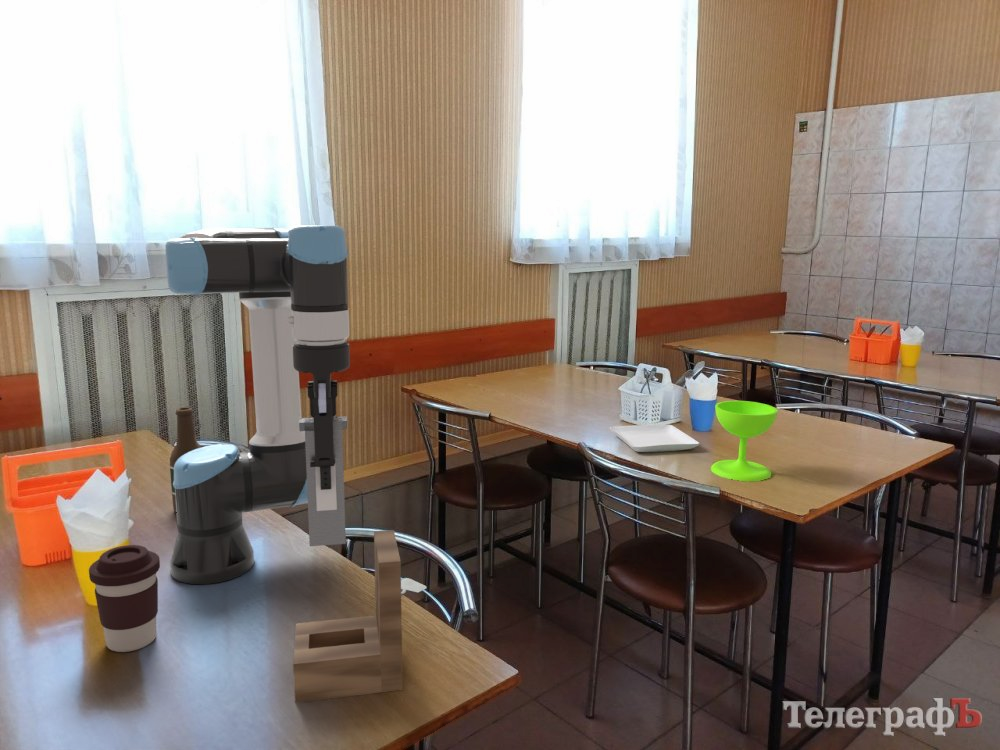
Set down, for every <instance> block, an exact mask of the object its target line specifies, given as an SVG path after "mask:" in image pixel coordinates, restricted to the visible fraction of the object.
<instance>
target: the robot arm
mask: <svg viewBox="0 0 1000 750" xmlns="http://www.w3.org/2000/svg"><path fill="white" fill-rule="evenodd" d="M346 240H347V238H346V231H345V229H344V228H343V227H341V226H340V225H322V224H321V225H319V224H318V225H316V224H315V225H314V224H313V225H311V224H309V225H306V224H305V225H304V224H301V225H297V224H296V225H295V224H294V225H292V226H291V227H289V228H279V227H238V228H237V227H233V228H231V227H230V228H229V227H227V228H226V227H213V228H205V229H201V230H200V229H199V230H196V231H193V232H188V233H186V234H183V235H181V236H180V237H177V238H171V239H169V240H168V241H167V242H166V243H165V262H166V263H165V264H166V276H167V286H168V289H169V290H170V292H171V293H172V294H179V295H181V294H182V295H183V294H185V295H192V296H193V295H194V296H196V295H207V294H231V293H232V294H234V293H238V296H239V300H238V301H240V302H241V303H242V304H243V305H244V306H245V307H246V308H247V310H248V321H249V335H250V349H251V350H250V352H251V364H252V366H251V367H252V380H253V395H254V410H255V412H254V413H255V424H256V425H255V426H256V432H255V434H254V435H253V436H252V437H251V438H250V440H249V441H248V445H249V446H248V447H249V450H247V451H240V450H239V448H238V447H237V445H235V444H231V443H225V444H223V443H218V444H217V443H215V444H210V445H205V446H201V448H198V449H195V450H192V451H190V452H188V453H186V454H184V455H182V456H181V457H180V458H179V459H178V460H177V461H176V463H175V465H174V481H173V487H174V488H175V496H176V512H177V513H176V512H175V513H176V524H177V525H176V526H177V536H176V538H175V543H174V547H173V549H172V550H173V551H172V553H171V558H170V561H169V562H170V563H169V566H170V567H169V568H170V574H171V576H172V578H173V579H175V581H178V582H181V583H184V584H190V585H209V584H217V583H222V582H225V581H229V580H233V579H235V578H237V577H239V576H242V575H244V574H245V573H247V572H248V571H249V570H250V569H252V567H253V566H254V564H255V554H254V553H255V552H254V548H253V546H252V544H251V541H250V539H249V537H248V535H247V532H246V530H245V527H244V523H243V513H248V512H257V511H265V510H273V509H279V508H285V507H289V508H294V507H295V506H299V505H305V504H308V496H307V471H306V447H305V431H300V430H299V421H300V418H302V408H301V407H302V405H301V392H300V391H301V388H300V374H299V373H302V374H309V373H310V374H312V375H313V376H312V377H313V379H312V381H311V380H309V381H307V397H308V399H309V410H310V413H309V414H310V418H314V441H315V460H314V462H310V467H315V476H316V501H317V511H324V510H337V500H336V470H335V459H334V444H333V417H336V415H337V397H338V380H332V373H340V372H344V371H346V370H348V369H349V368H350V366H351V359H350V358H351V357H350V356H351V355H350V353H351V351H350V343H349V342H348V341H347V339H348V338H349V337H350V311H349V310H350V308H349V304H348V303H349V300H348V299H349V297H348V296H349V294H348V292H349V290H348V255H349V251H348V250H349V249H348V247H347V241H346Z"/></svg>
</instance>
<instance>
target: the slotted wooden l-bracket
mask: <svg viewBox="0 0 1000 750" xmlns="http://www.w3.org/2000/svg"><path fill="white" fill-rule="evenodd" d="M373 543H374V544H373V546H374V549H373V550H374V595H375V601H374V602H375V603H374V605H375V615H367V616H359V617H358V616H356V617H349V618H348V617H346V618H337V619H328V620H317V621H307V622H299V623H295V633H294V634H295V637H294V648H293V649H294V650H293V664H292V665H293V685H294V686H293V689H294V703H295V704H297V703H303V702H304V703H305V702H312V701H320V700H328V699H336V698H345V697H353V696H363V695H371V694H377V693H385V692H394V691H401V690H403V643H402V640H403V638H402V636H403V633H402V628H403V626H402V595H401V592H402V590H401V580H402V577H401V576H402V571H401V570H402V566H401V565H402V564H401V563H402V561H401V557H400V553H399V548H398V543H397V538H396V535H395V529H390V530H388V529H387V530H376V531H373Z"/></svg>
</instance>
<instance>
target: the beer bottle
mask: <svg viewBox="0 0 1000 750" xmlns="http://www.w3.org/2000/svg"><path fill="white" fill-rule="evenodd" d="M193 413H194V410H193V408H192V407H188V406H184V407H178V408H177V409H176V410H175V415H176V427H177V429H176V434H177V436H176V437H177V438H176V444H175V446H174V448H173V449H172V451H171V454H170V458H169V471H170V472H169V473H170V487H171V497H172V507H173V511H174V513H176V496H175V488H174V487H173V481H174V465H175V463H176V461H177V460H178V459H179V458H180V457H181V456H182V455H184V454H186V453H188V452H190V451H192V450H195V449H198V448H201V447H202V446H201V445H200V443H198V441H197V440H198V439H197V437H196V431H195V425H194V424H195V423H194V416H193Z"/></svg>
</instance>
